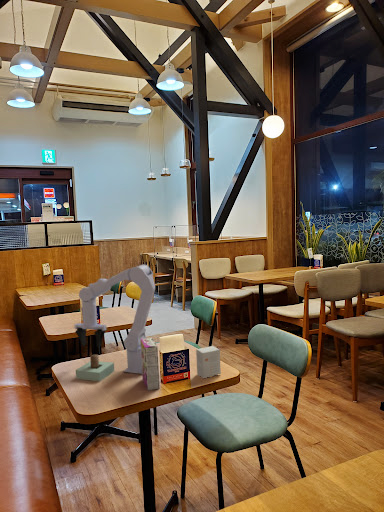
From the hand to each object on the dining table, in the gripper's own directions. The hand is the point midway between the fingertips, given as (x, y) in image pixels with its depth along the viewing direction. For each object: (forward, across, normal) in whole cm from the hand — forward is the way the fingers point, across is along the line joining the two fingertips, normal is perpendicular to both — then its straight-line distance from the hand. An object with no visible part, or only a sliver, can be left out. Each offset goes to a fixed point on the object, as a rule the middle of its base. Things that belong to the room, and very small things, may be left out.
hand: (91, 345), depth 162 cm
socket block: (+9, +6, -7) cm, 13 cm away
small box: (+10, +51, +4) cm, 52 cm away
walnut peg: (+10, +6, -7) cm, 13 cm away
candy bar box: (+10, +32, -10) cm, 35 cm away
